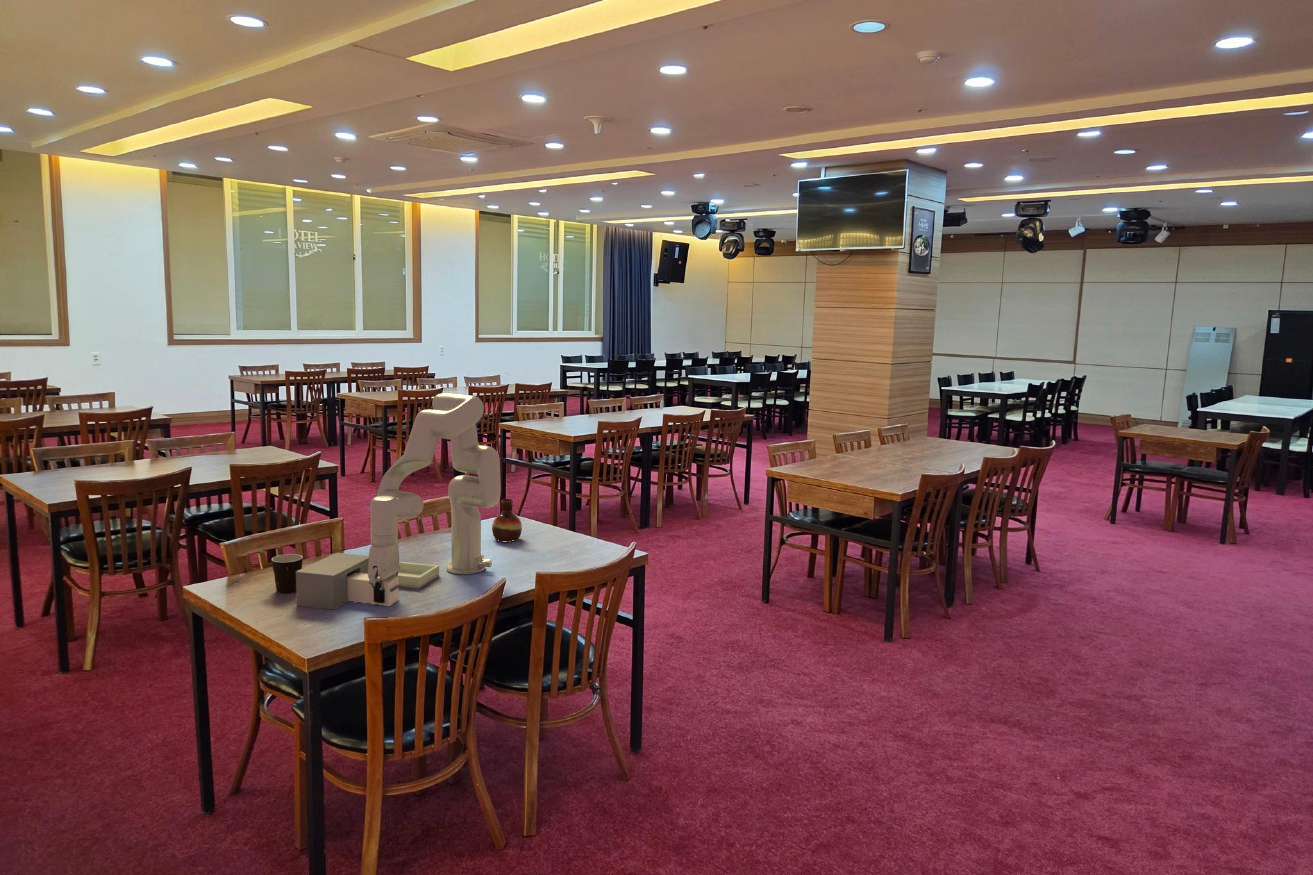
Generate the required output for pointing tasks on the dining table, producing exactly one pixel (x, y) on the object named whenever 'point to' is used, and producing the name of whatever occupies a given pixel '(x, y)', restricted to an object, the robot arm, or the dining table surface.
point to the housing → (328, 580)
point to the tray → (416, 574)
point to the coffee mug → (286, 572)
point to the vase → (507, 523)
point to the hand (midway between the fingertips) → (385, 598)
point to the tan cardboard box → (371, 589)
